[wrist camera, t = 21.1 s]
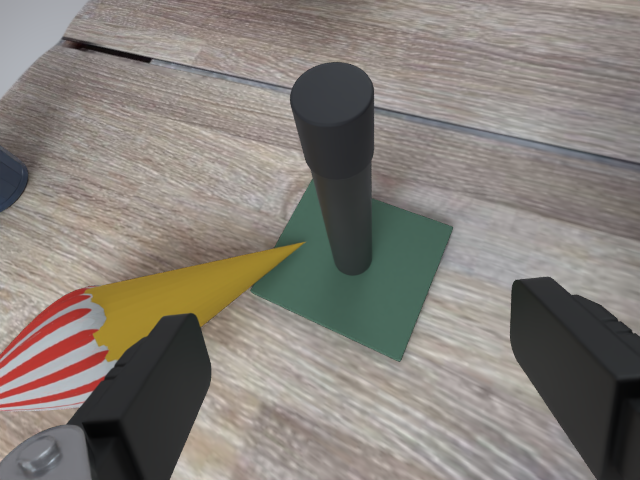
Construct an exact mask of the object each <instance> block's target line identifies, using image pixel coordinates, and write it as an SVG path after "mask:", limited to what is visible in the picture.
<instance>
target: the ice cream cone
mask: <svg viewBox="0 0 640 480" xmlns="http://www.w3.org/2000/svg"><path fill="white" fill-rule="evenodd" d="M304 243H305V242H302V243H297V244H293V245H288V246H283V247H279V248H274V249H269V250H265V251H260V252H256V253H251V254H246V255H242V256H237V257H232V258H228V259H223V260H218V261H214V262H209V263H204V264H200V265H195V266H190V267H186V268H181V269H177V270H172V271H167V272H163V273H158V274H153V275H149V276H144V277H139V278H135V279H130V280H125V281H121V282H116V283H111V284H107V285H102V286H101V285H94V286H88V287H85V288H81V289H78V290H75V291H73V292H71V293H68V294H66V295H64V296H63V297H61V298H60V299H58V300H57V301H55V302H54V303H52V304H51V305H50V306H49V307H47V308H46V309H45V310H44V311H43V312H41V313H40V314H39V315H38V316H37V317H36V318H35V319H34V320H33V321H32V322H31V323H30V324H29V325H28V326H27V327H25V328H24V329H23V331H22V332H21V333H20V334H19V335H18V336H17V337H16V338H15V339H14V340H13V341H12V342H11V343H10V344H9V345H8V347H7V348H6V349H5V350H4V351H3V352H2V353H1V355H0V411H41V410H57V409H69V408H77V407H81V406H82V404H83V403H84V402H85V401H86V399H87V398H88V397H89V396H90V394H91V393H92V392H93V391H94V389H95V388H96V387H97V386H98V384H99V383H100V382H101V381H104V377H105V376H106V375H107V373H108V372H109V371H110V370H111V368H114V365H115V363H116V362H117V361H118V360H119V358H120V357H121V356H122V355H123V353H124V352H125V351H126V350H127V349H128V348H130V347H131V346H132V345H134V344H135V343H136V342H138V341H139V340H140V339H142V338H143V337H147V336H148V334H149V333H150V332H151V331H152V329H153V328H154V327H155V325H156V324H157V323H158V321H159V320H160V319H161V318H162V317H163V316H167V315H177V314H186V313H194V314H195V315H196V316H197V318H198V321H199V324H200V327H202V326H203V325H204V324H205V323H207V322H208V321H209V320H210V319H211V318H213V317H214V316H215V315H216V314H218V313H219V312H220V311H221V310H223V309H224V308H225V307H226V306H227V305H229V304H230V303H231V302H232V301H234V300H235V299H236V298H237V297H239V296H240V295H241V294H242V293H243V292H245V291H246V290H247V289H248V288H250V287H251V286H252V285H253V284H255V283H256V282H257V281H258V280H259V279H261V278H262V277H263V276H264V275H266V274H267V273H268V272H269V271H271V270H272V269H273V268H274V267H275V266H277V265H278V264H279V263H280V262H282V261H283V260H284V259H285V258H287V257H288V256H289V255H290V254H292V253H293V252H294V251H295V250H296V249H298V248H299V247H300V246H301V245H303V244H304Z"/></svg>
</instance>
